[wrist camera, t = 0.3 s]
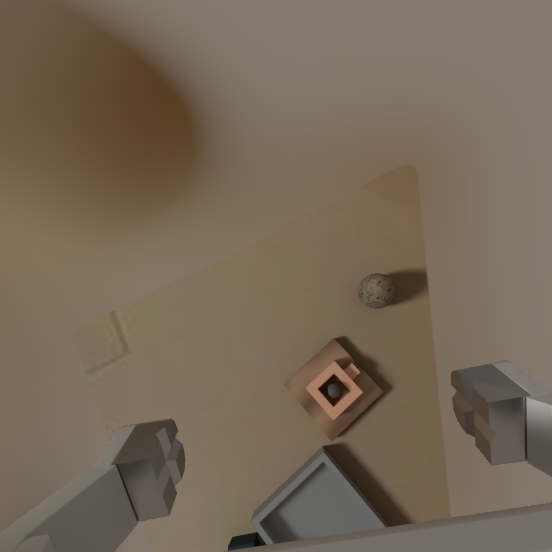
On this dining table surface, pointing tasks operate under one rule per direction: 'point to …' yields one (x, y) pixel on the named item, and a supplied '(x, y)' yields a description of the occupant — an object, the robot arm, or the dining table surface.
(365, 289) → the decorative egg
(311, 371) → the base
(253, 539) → the watch
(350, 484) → the tray
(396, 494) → the dining table surface
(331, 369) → the ring
